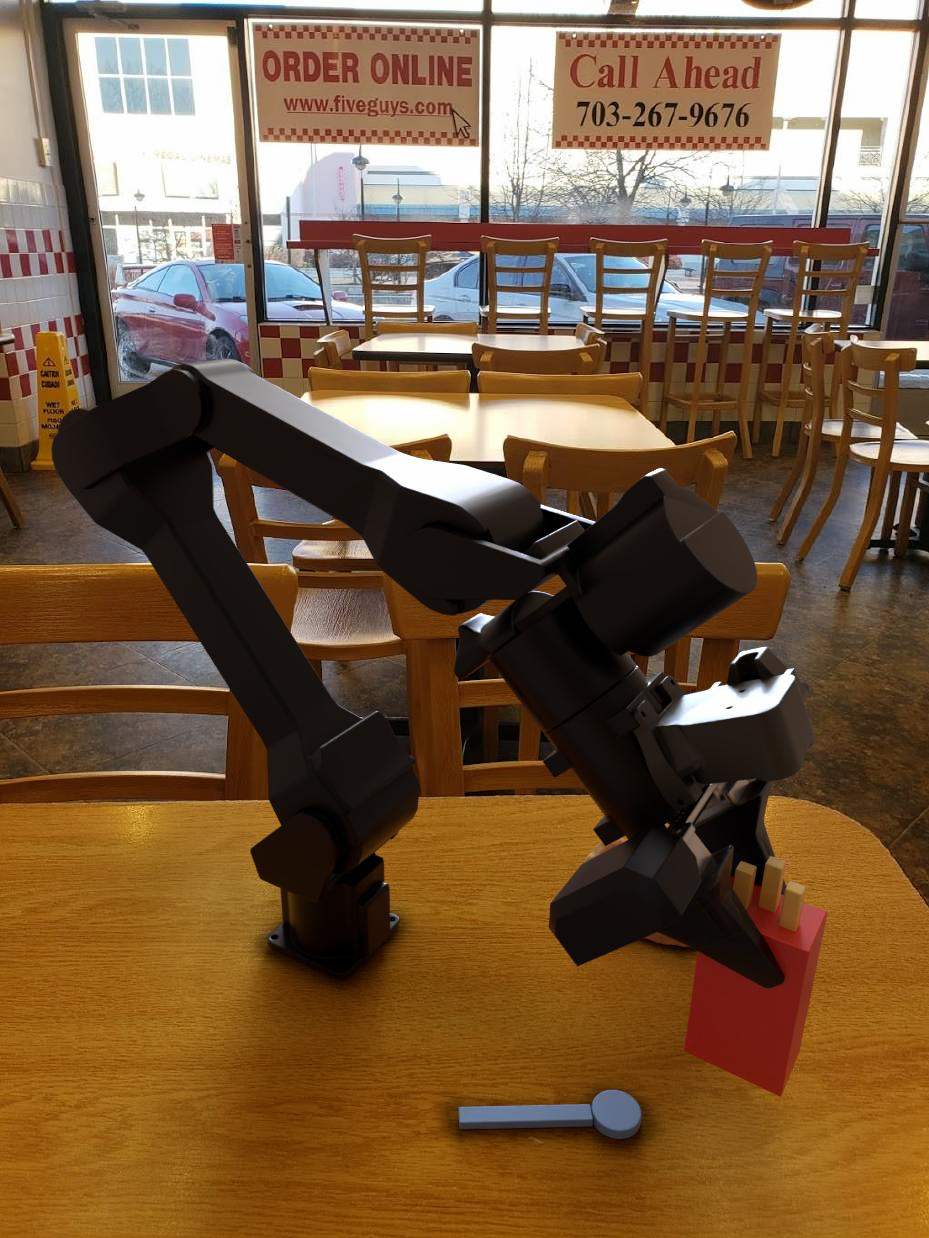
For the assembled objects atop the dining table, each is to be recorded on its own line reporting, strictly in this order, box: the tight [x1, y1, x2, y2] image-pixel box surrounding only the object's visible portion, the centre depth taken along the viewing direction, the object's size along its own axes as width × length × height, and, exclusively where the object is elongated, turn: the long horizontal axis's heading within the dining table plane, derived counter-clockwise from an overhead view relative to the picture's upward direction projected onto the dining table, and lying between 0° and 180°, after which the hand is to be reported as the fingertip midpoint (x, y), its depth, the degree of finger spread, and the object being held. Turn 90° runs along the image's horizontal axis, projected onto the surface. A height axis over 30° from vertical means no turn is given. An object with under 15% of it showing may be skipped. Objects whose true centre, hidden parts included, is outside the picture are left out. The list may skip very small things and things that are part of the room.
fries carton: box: [683, 856, 828, 1098], centre depth 46 cm, size 5×3×12 cm
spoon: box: [457, 1089, 642, 1140], centre depth 49 cm, size 10×3×1 cm, turn 92°
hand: (786, 960), depth 45 cm, fingers closed on fries carton, 3 cm apart
